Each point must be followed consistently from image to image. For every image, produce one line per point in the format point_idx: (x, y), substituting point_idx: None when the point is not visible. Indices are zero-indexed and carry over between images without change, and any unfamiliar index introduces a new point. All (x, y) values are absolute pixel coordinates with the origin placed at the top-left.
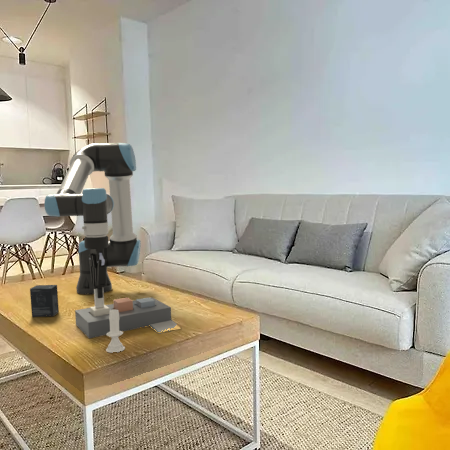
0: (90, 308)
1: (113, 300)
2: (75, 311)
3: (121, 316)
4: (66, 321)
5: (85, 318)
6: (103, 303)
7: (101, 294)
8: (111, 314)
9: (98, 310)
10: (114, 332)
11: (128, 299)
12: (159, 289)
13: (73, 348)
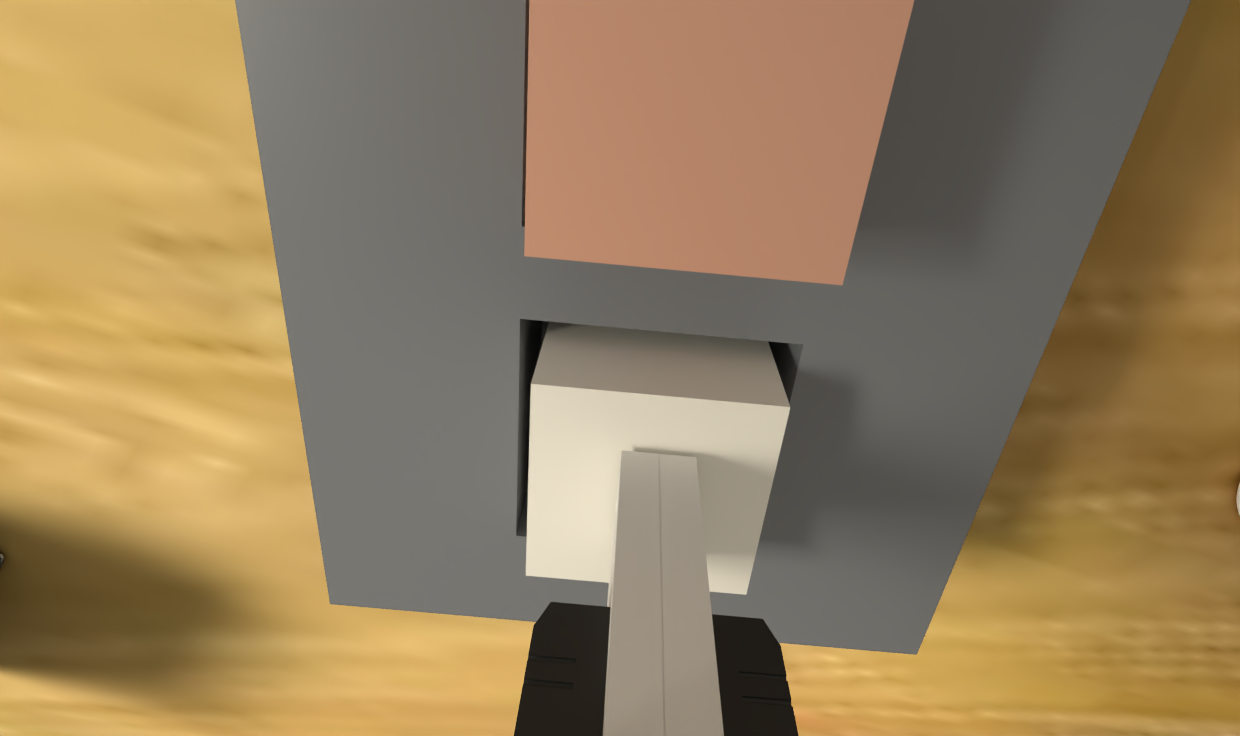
0: (560, 569)
1: (534, 251)
2: (350, 596)
3: (1063, 296)
4: (231, 514)
5: None
6: (699, 503)
7: (779, 701)
8: None
9: (754, 542)
10: None
11: None
12: None
13: (974, 664)
